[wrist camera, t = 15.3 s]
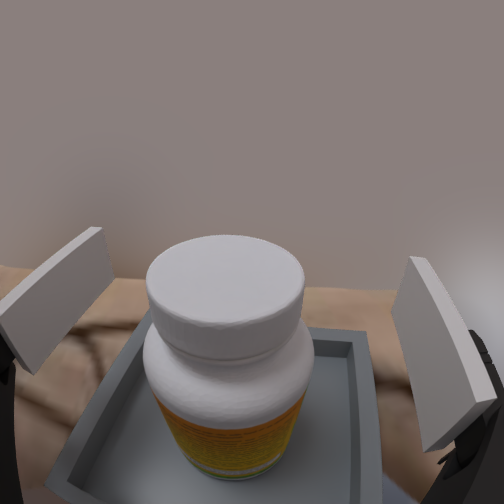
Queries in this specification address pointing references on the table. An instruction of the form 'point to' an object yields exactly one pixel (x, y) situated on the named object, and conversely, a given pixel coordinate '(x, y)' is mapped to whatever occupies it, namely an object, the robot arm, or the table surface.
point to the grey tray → (218, 490)
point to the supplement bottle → (228, 351)
